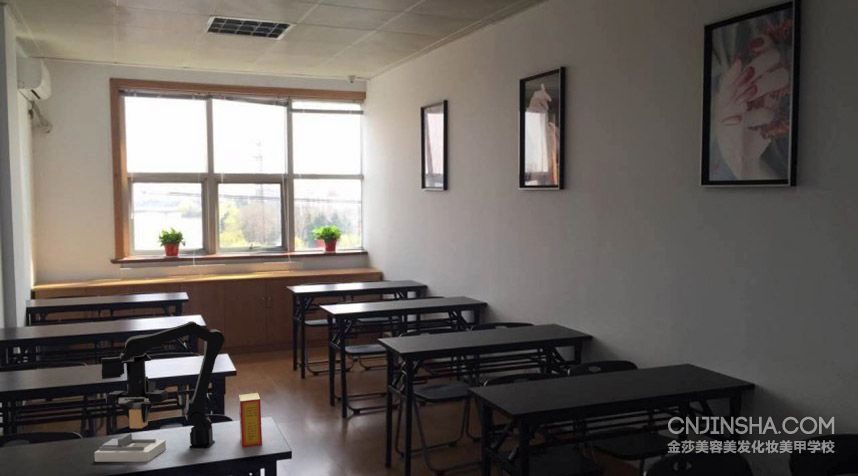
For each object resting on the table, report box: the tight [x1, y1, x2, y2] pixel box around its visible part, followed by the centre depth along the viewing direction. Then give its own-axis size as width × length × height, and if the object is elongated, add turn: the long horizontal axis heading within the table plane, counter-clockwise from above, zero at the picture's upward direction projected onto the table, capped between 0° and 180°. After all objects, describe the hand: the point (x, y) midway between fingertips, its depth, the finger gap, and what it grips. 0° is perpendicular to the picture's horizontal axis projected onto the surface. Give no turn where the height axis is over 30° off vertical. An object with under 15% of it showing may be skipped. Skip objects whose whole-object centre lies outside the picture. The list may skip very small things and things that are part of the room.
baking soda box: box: [238, 392, 263, 449], centre depth 241 cm, size 10×6×16 cm
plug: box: [128, 403, 149, 429], centre depth 231 cm, size 4×4×7 cm
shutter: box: [101, 432, 133, 447], centre depth 232 cm, size 6×6×3 cm
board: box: [93, 438, 167, 463], centre depth 231 cm, size 18×12×4 cm, turn 84°
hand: (138, 422), depth 231 cm, fingers closed on plug, 4 cm apart
